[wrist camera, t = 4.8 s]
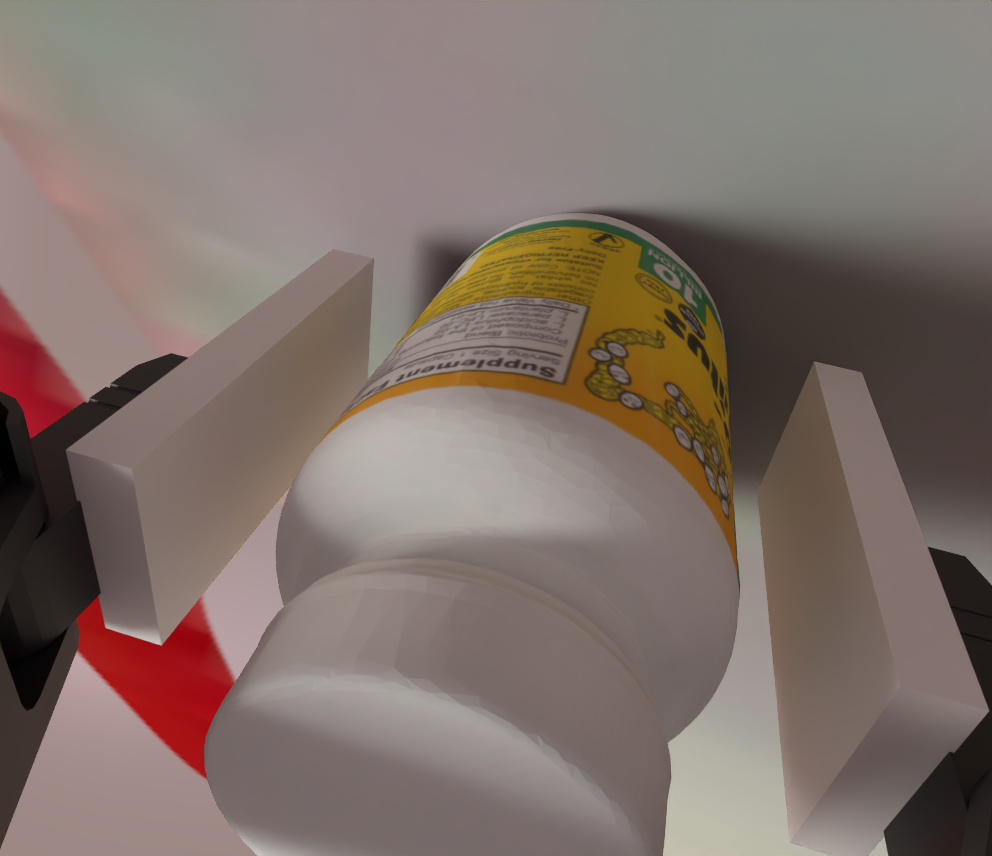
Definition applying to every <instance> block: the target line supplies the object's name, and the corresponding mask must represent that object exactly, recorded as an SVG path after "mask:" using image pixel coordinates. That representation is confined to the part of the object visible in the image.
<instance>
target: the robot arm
mask: <svg viewBox="0 0 992 856" xmlns="http://www.w3.org/2000/svg"><path fill="white" fill-rule="evenodd" d="M373 263H374V259H373V258H369V257H365V256H360V255H356V254H352V253H348V252H343V251H339V250H335V249H333V250H332V251H330V252H329V253H328V254H326V255H325V256H324V257H322V258H321V259H320V260H318V261H317V262H316V263H314V264H313V265H312V266H310V267H309V268H308V269H306V270H305V271H304V272H302V273H301V274H300V275H298V276H297V277H296V278H294V279H293V280H292V281H290V282H289V283H288V284H286V285H285V286H284V287H282V288H281V289H280V290H278V291H277V292H276V293H274V294H273V295H272V296H270V297H269V298H268V299H266V300H265V301H264V302H262V303H261V304H260V305H258V306H257V307H256V308H254V309H253V310H252V311H250V312H249V313H248V314H246V315H245V316H244V317H242V318H241V319H240V320H238V321H237V322H236V323H234V324H233V325H232V326H230V327H229V328H228V329H226V330H225V331H224V332H222V333H221V334H220V335H218V336H217V337H216V338H214V339H213V340H212V341H210V342H209V343H208V344H206V345H205V346H204V347H202V348H201V349H200V350H198V351H197V352H196V353H194V354H193V355H192V356H190V357H189V358H187V357H184V356H180V355H176V354H172V353H171V354H168V355H165V356H162V357H159V358H157V359H154V360H151V361H148V362H145V363H142V364H139V365H137V366H135V367H134V368H132V369H131V370H129V371H128V372H126V373H125V374H124V375H122V376H121V377H119V378H118V379H116V380H115V381H114V382H112V383H111V386H110V388H108V387H105V388H103V389H102V390H101V391H99V392H98V393H96V394H95V395H93V396H92V397H91V398H90V399H89V402H88V403H86V402H83V403H82V404H80V405H79V406H78V407H76V408H75V409H73V410H72V411H70V412H69V413H68V414H66V415H65V416H63V417H62V418H60V419H59V420H57V421H56V422H55V423H53V424H52V425H50V426H49V427H47V428H46V429H45V430H43V431H42V432H40V433H39V434H37V435H36V436H34V437H33V438H32V439H30V436H29V432H28V428H27V424H26V421H25V417H24V413H23V410H22V408H21V407H20V405H19V403H18V402H17V400H16V399H15V398H13V397H11V396H9V395H7V394H4V393H2V392H0V848H1V845H2V843H3V840H4V838H5V835H6V832H7V830H8V827H9V825H10V822H11V819H12V817H13V814H14V812H15V809H16V807H17V804H18V801H19V799H20V796H21V794H22V791H23V788H24V786H25V783H26V781H27V778H28V775H29V773H30V770H31V768H32V765H33V763H34V760H35V757H36V754H37V752H38V749H39V747H40V744H41V742H42V739H43V737H44V734H45V731H46V729H47V726H48V724H49V721H50V719H51V716H52V713H53V711H54V708H55V705H56V703H57V700H58V698H59V695H60V693H61V690H62V688H63V685H64V682H65V680H66V677H67V675H68V672H69V669H70V667H71V664H72V661H73V659H74V656H75V654H76V651H77V649H78V642H79V634H80V631H79V628H78V624H77V620H76V618H77V617H78V616H79V615H80V614H81V613H82V612H83V611H84V610H85V609H86V608H87V607H88V606H89V605H90V604H91V603H92V602H93V601H94V600H95V599H96V598H97V596H99V600H100V604H101V609H102V613H103V618H104V622H105V627H106V628H108V629H111V630H114V631H117V632H120V633H124V634H127V635H130V636H133V637H136V638H139V639H143V640H146V641H149V642H152V643H155V644H159V645H162V644H163V643H164V642H165V640H166V639H167V638H168V637H169V635H170V634H171V633H172V632H173V630H174V629H175V628H176V627H177V625H178V624H179V623H180V622H181V621H182V619H183V618H184V617H185V616H186V614H187V613H188V612H189V611H190V609H191V608H192V607H193V606H194V604H195V603H196V602H197V601H198V599H199V598H200V597H201V596H202V595H203V593H204V592H205V591H206V589H207V588H208V587H209V586H210V585H211V583H212V582H213V581H214V580H215V578H216V577H217V576H218V575H219V573H220V572H221V571H222V569H223V568H224V567H225V566H226V565H227V564H228V562H229V561H230V560H231V559H232V557H233V556H234V555H235V553H236V552H237V551H238V550H239V549H240V547H241V546H242V545H243V544H244V542H245V541H246V540H247V539H248V538H249V536H250V535H251V534H252V533H253V531H254V530H255V529H256V528H257V526H258V525H259V524H260V523H261V521H262V520H263V519H264V518H265V516H266V515H267V514H268V513H269V511H270V510H271V509H272V508H273V507H274V505H275V504H276V503H277V502H278V500H279V499H280V498H281V497H282V495H283V494H284V493H285V492H286V490H287V489H288V488H289V487H290V486H291V484H292V483H293V482H294V480H295V478H296V476H297V474H298V472H299V471H300V469H301V468H302V466H303V465H304V463H305V461H306V460H307V458H308V457H309V455H310V454H311V452H312V451H313V450H314V448H315V447H316V446H317V445H318V443H319V442H320V441H321V440H322V438H323V437H324V436H325V435H326V433H327V432H328V431H329V429H330V428H331V427H332V426H333V424H334V423H335V422H336V420H337V419H338V417H339V416H340V415H341V414H342V412H343V411H344V410H345V408H346V407H347V406H348V405H349V404H350V403H351V401H352V400H353V399H354V398H355V397H356V395H357V394H358V393H359V391H360V390H361V389H362V388H363V386H364V385H365V384H366V382H367V379H368V360H369V340H370V321H371V302H372V283H373ZM757 492H758V503H759V514H760V525H761V536H762V546H763V557H764V568H765V579H766V590H767V600H768V611H769V622H770V633H771V644H772V655H773V665H774V676H775V687H776V698H777V709H778V720H779V730H780V741H781V752H782V763H783V774H784V784H785V795H786V806H787V817H788V828H789V838H790V843H794V844H797V845H800V846H803V847H806V848H809V849H813V850H816V851H819V852H822V853H825V854H829V855H832V856H868V855H869V854H870V853H871V852H872V850H873V849H874V848H875V847H876V846H877V844H878V843H879V842H880V841H881V840H882V838H883V837H884V836H885V841H886V846H887V851H888V856H992V585H991V584H990V583H989V582H988V581H987V580H986V579H985V578H984V576H983V575H982V574H981V573H980V572H979V571H978V570H977V569H976V568H975V567H974V566H973V564H972V563H971V562H970V561H969V560H968V559H967V558H966V557H965V556H961V555H958V554H954V553H950V552H946V551H942V550H938V549H934V548H931V547H927V544H926V542H925V539H924V536H923V534H922V531H921V528H920V526H919V523H918V520H917V518H916V515H915V512H914V510H913V507H912V505H911V502H910V499H909V497H908V494H907V491H906V489H905V486H904V483H903V481H902V478H901V475H900V473H899V470H898V467H897V465H896V462H895V459H894V457H893V454H892V451H891V449H890V446H889V444H888V441H887V438H886V436H885V433H884V430H883V428H882V425H881V422H880V420H879V417H878V414H877V412H876V409H875V406H874V404H873V401H872V398H871V396H870V393H869V390H868V388H867V385H866V382H865V380H864V377H863V375H862V372H858V371H853V370H849V369H845V368H840V367H836V366H832V365H828V364H823V363H819V362H815V361H814V363H813V365H812V367H811V369H810V372H809V374H808V376H807V379H806V381H805V383H804V385H803V388H802V390H801V392H800V395H799V397H798V399H797V402H796V404H795V406H794V408H793V411H792V413H791V415H790V418H789V420H788V422H787V425H786V427H785V429H784V431H783V434H782V436H781V438H780V441H779V443H778V445H777V447H776V450H775V452H774V454H773V457H772V459H771V461H770V464H769V466H768V468H767V470H766V473H765V475H764V477H763V480H762V482H761V484H760V487H759V489H758V491H757Z"/></svg>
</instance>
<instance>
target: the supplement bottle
mask: <svg viewBox="0 0 992 856" xmlns="http://www.w3.org/2000/svg"><path fill="white" fill-rule="evenodd" d="M729 407H730V404H729V398H728V380H727V353H726V348H725V338H724V333H723V327H722V323H721V320H720V317H719V314H718V311H717V308H716V305H715V303H714V301H713V299H712V297H711V295H710V294H709V292H708V290H707V289H706V287H705V285H704V284H703V283H702V281H701V280H700V279H699V277H698V276H697V275H696V274H695V273H694V271H693V270H692V269H691V268H690V267H689V266H688V265H687V264H686V263H685V262H684V261H683V260H682V259H680V258H679V257H678V256H677V255H676V254H675V253H674V252H673V251H672V250H671V249H670V248H668V247H667V246H666V245H665V244H664V243H662V242H661V241H659V240H658V239H657V238H655V237H654V236H652V235H651V234H649V233H647V232H646V231H644V230H642V229H640V228H638V227H636V226H633V225H631V224H629V223H627V222H625V221H622V220H619V219H615V218H612V217H608V216H603V215H598V214H586V213H562V214H555V215H549V216H544V217H539V218H535V219H531V220H527V221H524V222H522V223H519V224H517V225H514V226H512V227H510V228H508V229H507V230H505V231H503V232H501V233H499V234H497V235H496V236H494V237H493V238H491V239H490V240H488V241H487V242H485V243H484V244H483V245H481V246H480V247H479V248H478V249H477V250H475V251H474V252H473V253H472V254H471V255H470V256H469V257H468V258H467V259H466V260H465V262H464V263H463V264H462V265H461V266H460V267H459V268H458V269H457V271H456V272H455V273H454V274H453V275H452V277H451V278H450V279H449V280H448V281H447V283H446V284H445V285H444V286H443V288H442V289H441V290H440V292H439V293H438V294H437V295H436V296H435V298H434V299H433V300H432V301H431V302H430V304H429V305H428V306H427V308H426V309H425V310H424V311H423V312H422V314H421V315H420V316H419V317H418V319H417V320H416V321H415V322H414V323H413V325H412V326H411V328H410V329H409V330H408V332H407V333H406V334H405V335H404V336H403V338H402V339H401V340H400V341H399V342H398V344H397V345H396V347H395V348H394V349H393V351H392V352H391V353H390V354H389V355H388V357H387V358H386V359H385V360H384V361H383V363H382V364H381V365H380V366H379V367H378V368H377V370H376V371H375V372H374V373H373V375H372V376H371V377H370V378H369V380H368V381H367V382H366V384H365V385H364V386H363V388H362V389H361V390H360V391H359V393H358V394H357V395H356V397H355V398H354V399H353V400H352V401H351V403H350V404H349V405H348V406H347V407H346V408H345V410H344V411H343V412H342V414H341V415H340V416H339V417H338V419H337V420H336V422H335V423H334V424H333V426H332V427H331V428H330V429H329V431H328V432H327V433H326V435H325V436H324V437H323V438H322V440H321V441H320V442H319V443H318V445H317V446H316V447H315V448H314V450H313V451H312V452H311V454H310V455H309V457H308V458H307V460H306V461H305V463H304V465H303V466H302V468H301V469H300V471H299V472H298V474H297V476H296V478H295V480H294V482H293V484H292V486H291V488H290V490H289V492H288V495H287V498H286V500H285V503H284V506H283V509H282V513H281V517H280V521H279V525H278V534H277V541H276V570H277V577H278V583H279V589H280V593H281V597H282V601H283V604H284V607H283V608H282V609H281V610H280V611H279V612H278V613H277V615H276V616H275V617H274V619H273V620H272V621H271V623H270V624H269V625H268V627H267V628H266V630H265V632H264V633H263V635H262V637H261V640H260V642H259V644H258V647H257V648H256V650H255V651H254V653H253V655H252V656H251V658H250V660H249V661H248V663H247V664H246V666H245V668H244V669H243V671H242V673H241V674H240V676H239V677H238V679H237V680H236V682H235V683H234V685H233V686H232V688H231V689H230V691H229V692H228V694H227V695H226V697H225V699H224V700H223V702H222V704H221V706H220V707H219V709H218V711H217V713H216V715H215V716H214V718H213V720H212V723H211V725H210V728H209V731H208V733H207V736H206V741H205V746H204V760H205V771H206V775H207V779H208V783H209V786H210V789H211V791H212V794H213V796H214V799H215V801H216V803H217V806H218V807H219V809H220V810H221V812H222V813H223V815H224V817H225V818H226V819H227V821H228V823H229V825H230V826H231V827H232V828H233V829H234V830H235V831H236V833H237V834H238V835H239V836H240V837H241V839H242V840H243V841H244V842H245V844H246V845H248V847H250V848H251V849H252V850H253V851H254V853H255V854H256V855H257V856H663V848H664V839H665V825H666V812H667V799H668V793H669V788H670V782H671V762H670V753H669V748H668V742H669V741H671V740H672V739H673V738H675V737H676V736H677V735H678V734H680V733H681V732H682V731H683V730H684V729H685V728H686V727H687V726H688V725H689V724H690V723H691V722H692V721H693V720H694V719H695V718H696V717H697V716H698V715H699V714H700V713H701V711H702V710H703V709H704V708H705V706H706V705H707V704H708V703H709V701H710V700H711V698H712V696H713V695H714V693H715V692H716V690H717V688H718V686H719V684H720V682H721V680H722V679H723V676H724V674H725V671H726V669H727V666H728V663H729V660H730V658H731V654H732V650H733V645H734V641H735V635H736V629H737V617H738V606H739V598H740V581H739V569H738V560H737V545H736V531H735V515H734V504H733V480H732V465H733V464H732V458H731V436H730V414H729Z"/></svg>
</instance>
